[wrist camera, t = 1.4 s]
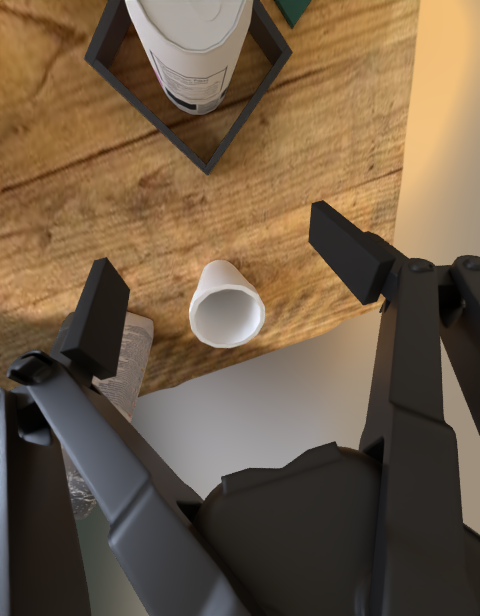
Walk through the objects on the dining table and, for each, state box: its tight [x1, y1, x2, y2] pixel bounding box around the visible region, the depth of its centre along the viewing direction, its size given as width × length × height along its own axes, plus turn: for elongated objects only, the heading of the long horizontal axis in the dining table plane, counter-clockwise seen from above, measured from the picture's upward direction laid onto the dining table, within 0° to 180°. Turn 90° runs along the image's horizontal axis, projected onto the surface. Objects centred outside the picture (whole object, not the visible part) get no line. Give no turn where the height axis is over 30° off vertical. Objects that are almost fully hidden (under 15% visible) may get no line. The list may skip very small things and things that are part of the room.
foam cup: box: [189, 260, 265, 348], centre depth 33 cm, size 10×9×13 cm
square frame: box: [84, 0, 293, 175], centre depth 24 cm, size 15×15×4 cm
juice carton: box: [60, 312, 153, 520], centre depth 29 cm, size 9×10×27 cm
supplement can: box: [125, 0, 253, 115], centre depth 19 cm, size 8×8×15 cm
